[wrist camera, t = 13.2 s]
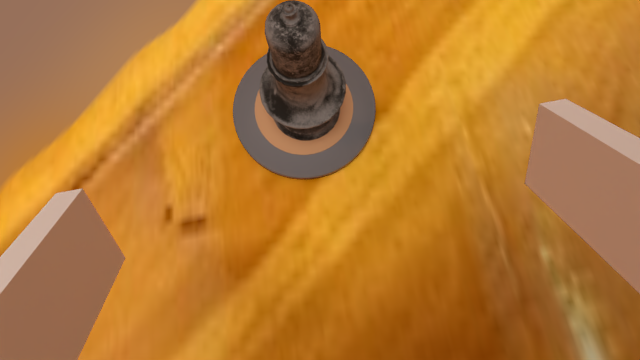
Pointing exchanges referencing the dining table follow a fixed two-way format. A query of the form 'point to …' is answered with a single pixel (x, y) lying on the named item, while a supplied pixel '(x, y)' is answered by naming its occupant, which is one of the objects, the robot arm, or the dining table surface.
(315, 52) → the salt shaker
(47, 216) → the robot arm
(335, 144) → the coaster
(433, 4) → the dining table surface
